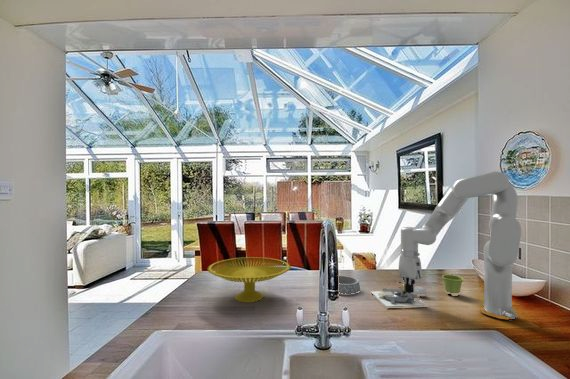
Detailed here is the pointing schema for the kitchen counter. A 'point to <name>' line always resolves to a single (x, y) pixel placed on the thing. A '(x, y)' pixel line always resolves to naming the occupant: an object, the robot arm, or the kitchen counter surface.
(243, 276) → the cake stand
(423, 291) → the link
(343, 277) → the dog bowl
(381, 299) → the base plate
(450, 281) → the plant pot
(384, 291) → the sprocket
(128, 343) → the kitchen counter surface
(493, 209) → the robot arm
